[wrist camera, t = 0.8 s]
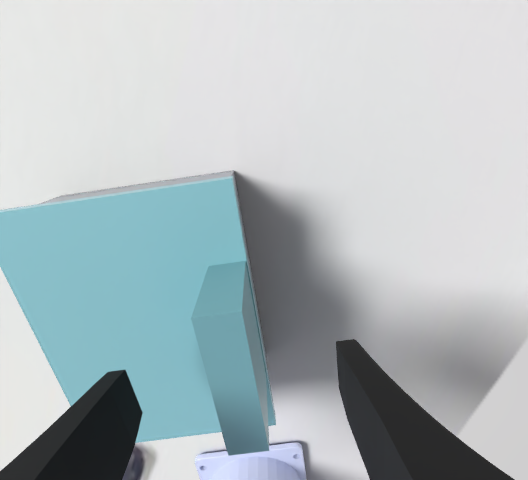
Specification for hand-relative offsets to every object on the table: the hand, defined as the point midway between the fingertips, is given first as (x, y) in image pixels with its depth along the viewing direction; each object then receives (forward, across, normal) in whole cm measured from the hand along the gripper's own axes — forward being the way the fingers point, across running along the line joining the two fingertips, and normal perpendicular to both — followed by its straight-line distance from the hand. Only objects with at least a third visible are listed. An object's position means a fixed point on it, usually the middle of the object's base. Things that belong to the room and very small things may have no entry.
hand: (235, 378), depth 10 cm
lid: (+5, +4, 0) cm, 6 cm away
